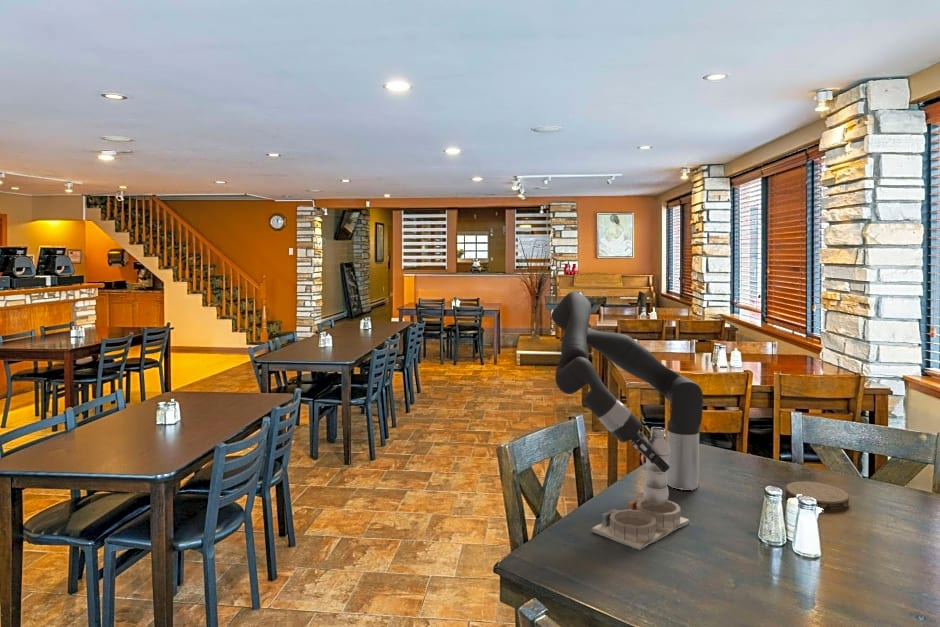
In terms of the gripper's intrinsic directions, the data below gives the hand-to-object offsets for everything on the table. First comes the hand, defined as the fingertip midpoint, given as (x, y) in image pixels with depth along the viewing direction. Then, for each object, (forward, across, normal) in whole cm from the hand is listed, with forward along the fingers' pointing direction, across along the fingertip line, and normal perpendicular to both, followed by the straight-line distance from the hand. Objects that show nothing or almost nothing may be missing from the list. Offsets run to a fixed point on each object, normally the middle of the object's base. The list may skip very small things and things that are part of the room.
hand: (663, 465), depth 167 cm
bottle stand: (+7, +3, -15) cm, 17 cm away
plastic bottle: (+6, 0, -9) cm, 11 cm away
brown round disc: (+45, -18, +23) cm, 54 cm away
